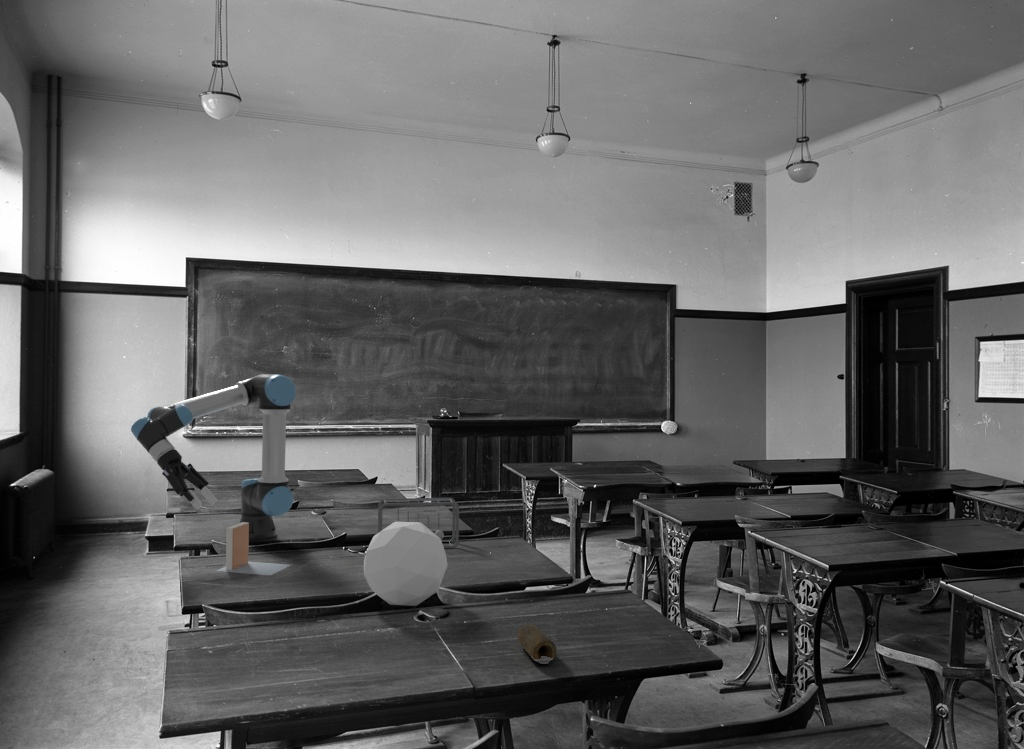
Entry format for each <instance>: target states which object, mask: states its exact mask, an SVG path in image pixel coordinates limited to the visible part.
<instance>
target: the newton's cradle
mask: <svg viewBox="0 0 1024 749" xmlns="http://www.w3.org/2000/svg"><path fill="white" fill-rule="evenodd" d="M403 506H404V507H410V506H416V507H418V506H452V529H451V530H452V531H451V533H452V534H451V538H450V539H445V540H444V539H443V538H444V536H445V534H444V532H443V531H442V530H440V529H437V530H435V531H434V532H433V533H434V534H435V535H437V536H438V537H439V538H440V539H441V541H442V542H449V543H448V544H449V545H443V547H444V548H448V549H455V548H457V547H458V546H459V540H460V539H459V537H460V536H459V535H460V533H459V530H460V527H459V526H460V525H459V524H460V506H459V504H458V503H457V502H456V500H455V499H454V498H453V497H424V498H423V497H421V498H420V497H417V498H416V497H415V498H414V497H413V498H410V497H409V498H382V499H380V500H379V502H378V506H377V534H378V533H379V532H381V531H382V530H383V509H384V507H403ZM399 511H400V508H397V522H400V520H399V519H400V516H399V515H400V512H399ZM429 520H430V516H427V528H428V529H429V525H430V523H429V522H430V521H429ZM437 521H438V522H437V524H438V528H440V514H437ZM407 522H410V512H407ZM417 522H420V515H417ZM454 541H455V542H454ZM450 542H451V543H450ZM453 542H454V544H453V545H452V543H453ZM453 547H454V548H453Z"/></svg>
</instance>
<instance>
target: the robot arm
mask: <svg viewBox="0 0 1024 749" xmlns="http://www.w3.org/2000/svg"><path fill="white" fill-rule="evenodd" d="M296 394H297V388H296V385H295V383H294V381H292V379H291V378H289V377H288V376H286V375H283V374H272V373H271V374H270V373H267V374H266V373H263V374H258V375H255V376H252V377H249V378H247V379H244V380H241V381H238V382H236V383H235V385H233V386H229V387H226V388H223V389H220V390H216V391H212V392H208V393H205V394H202V395H199V396H194V397H192V398H188V399H185V400H181V401H179V402H175V403H171V404H168V405H164V406H155V407H153V408H151V409H149V411H148V413H147V416H143V417H140V418H139V419H138V420H136V421H135V422H134V423H133V424H132V425H131V428H130V431H131V433H132V434H133V436H134V437H135V439H136V441H138V442H139V443H140V444H141V445H142V448H144V449H145V450H146V451H147V454H149V455H150V456H151V459H153V460H154V461H155V462H156V464H157V465H158V466H159V468H160V469H161V470H162V473H161V474H162V475H163V476H164V477H165V478H166V480H167V481H168V483H169V484H170V486H171V488H173V490H174V492H175V494H176V495H179V497H185V499H186V500H187V501H188V502H189V503H190V504H191V505H192V507H194V509H195V510H196V511H198V510H199V509H200V508H201V507H202V505H203V503H202V501H201V500H200V498H198V496H197V495H196V494H195V493H194V492H193V490H191V489H189V487H188V485H187V484H186V481H185V480H187V481H188V482H189V483H191V484H192V485H193V486H194V487H196V488H197V489H199V490H200V491H199V493H200V494H201V495H202V497H204V499H205V500H206V501H207V502H208V503H209V505H210V506H213V505H214V504H216V503H217V501H218V498H217V497H216V496H215V495H214V494H213V493H212V492H211V490H210V489H209V488H208V485H209V484H210V483H209V482H208V481H207V479H206V478H204V476H202V474H200V472H198V471H197V469H196V468H194V466H193V464H191V463H188V464H185V463H184V462H183V461H182V459H183V456H182V455H181V454H180V452H179V451H178V450H177V449H175V448H176V447H175V446H174V445H173V443H171V441H169V439H168V437H169V436H171V435H172V434H174V433H176V432H178V431H180V430H181V429H183V428H184V427H187V426H188V425H189V424H191V423H192V422H193V421H194V419H197V418H201V417H203V416H207V415H210V414H213V413H217V412H220V411H223V410H226V409H230V408H232V407H236V406H240V405H242V406H249V405H253V404H258V405H259V406H258V407H259V408H258V410H259V411H260V412H261V413H262V442H261V443H262V445H261V446H262V448H261V449H262V452H261V454H262V455H261V456H262V457H261V476H260V477H259V478H247V479H243V480H242V482H241V487H240V490H241V493H240V494H241V495H240V496H241V498H240V504H241V505H240V506H241V507H240V508H241V510H240V511H241V513H240V515H241V516H240V520H239V522H238V524H239V523H242V522H248V523H249V541H250V540H252V541H253V540H254V541H256V540H266V539H271V538H273V537H276V535H277V528H276V525H275V522H274V519H273V517H280V516H283V515H285V514H286V513H288V511H289V510H290V509H291V508H292V505H293V504H294V495H293V492H292V491H291V489H290V488H289V487H290V486H289V485H290V484H289V482H290V481H289V480H290V479H289V478H288V477H287V476H286V444H287V443H286V441H287V439H286V437H287V414H288V413H289V412H290V411H291V407H292V406H291V405H292V403H293V401H294V400H295V398H296Z"/></svg>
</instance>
